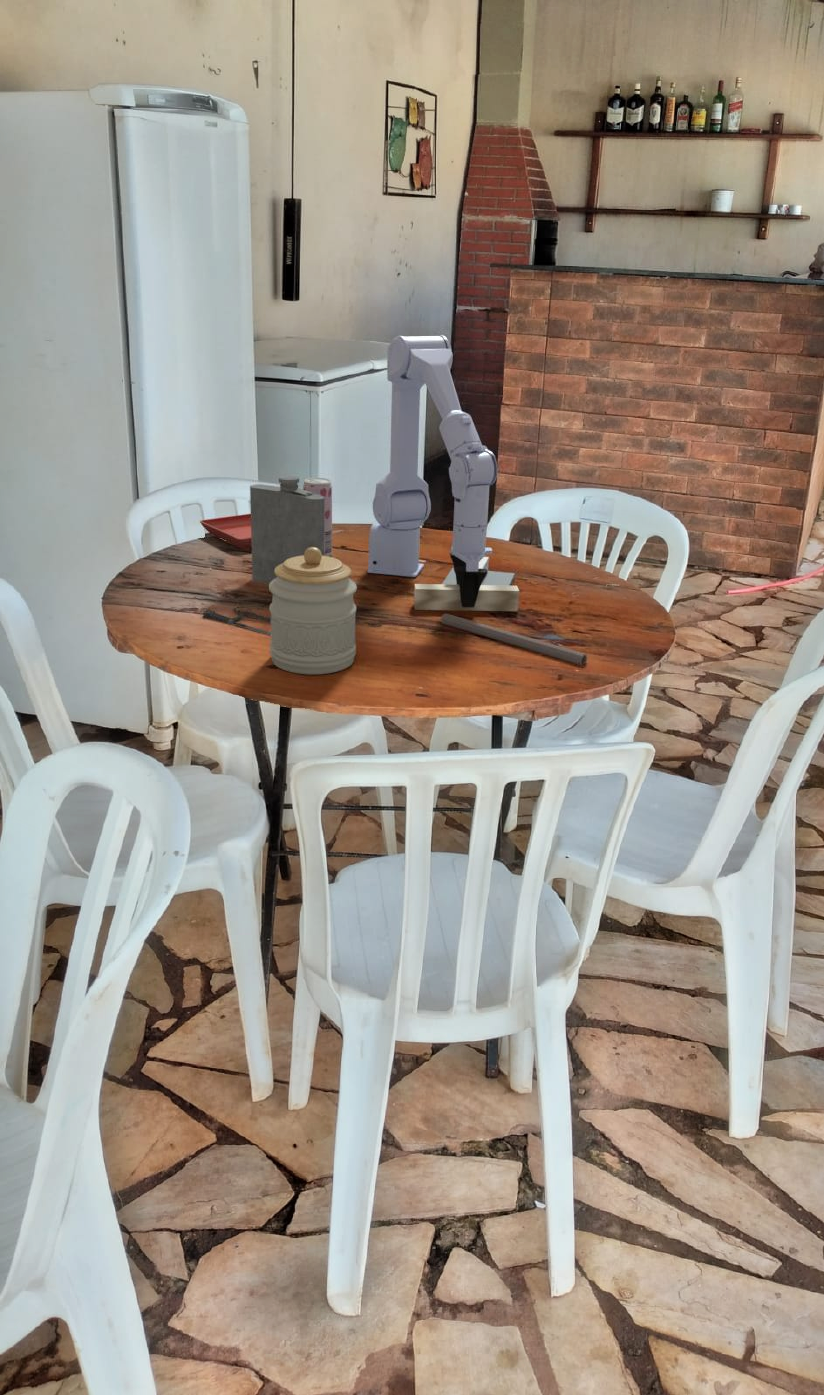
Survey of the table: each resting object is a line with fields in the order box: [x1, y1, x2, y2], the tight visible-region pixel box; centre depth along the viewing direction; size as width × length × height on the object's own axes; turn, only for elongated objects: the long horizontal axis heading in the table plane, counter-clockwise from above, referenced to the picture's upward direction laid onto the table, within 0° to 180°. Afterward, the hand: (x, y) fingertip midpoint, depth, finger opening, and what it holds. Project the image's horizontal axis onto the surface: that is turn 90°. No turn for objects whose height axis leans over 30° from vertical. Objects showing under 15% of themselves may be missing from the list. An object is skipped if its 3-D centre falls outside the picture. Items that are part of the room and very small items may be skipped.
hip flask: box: [249, 475, 325, 585], centre depth 195 cm, size 16×4×20 cm, turn 57°
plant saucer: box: [199, 513, 252, 550], centre depth 229 cm, size 18×18×3 cm
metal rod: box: [440, 613, 588, 666], centre depth 176 cm, size 2×27×2 cm, turn 51°
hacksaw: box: [202, 606, 271, 637], centre depth 180 cm, size 24×10×1 cm, turn 57°
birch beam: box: [413, 583, 520, 612], centre depth 191 cm, size 18×3×4 cm, turn 93°
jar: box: [268, 547, 358, 675], centre depth 162 cm, size 13×13×18 cm
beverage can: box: [302, 477, 333, 557], centre depth 215 cm, size 6×6×15 cm
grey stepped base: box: [441, 556, 516, 586], centre depth 202 cm, size 12×14×4 cm
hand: (466, 599), depth 191 cm, fingers open, 7 cm apart
